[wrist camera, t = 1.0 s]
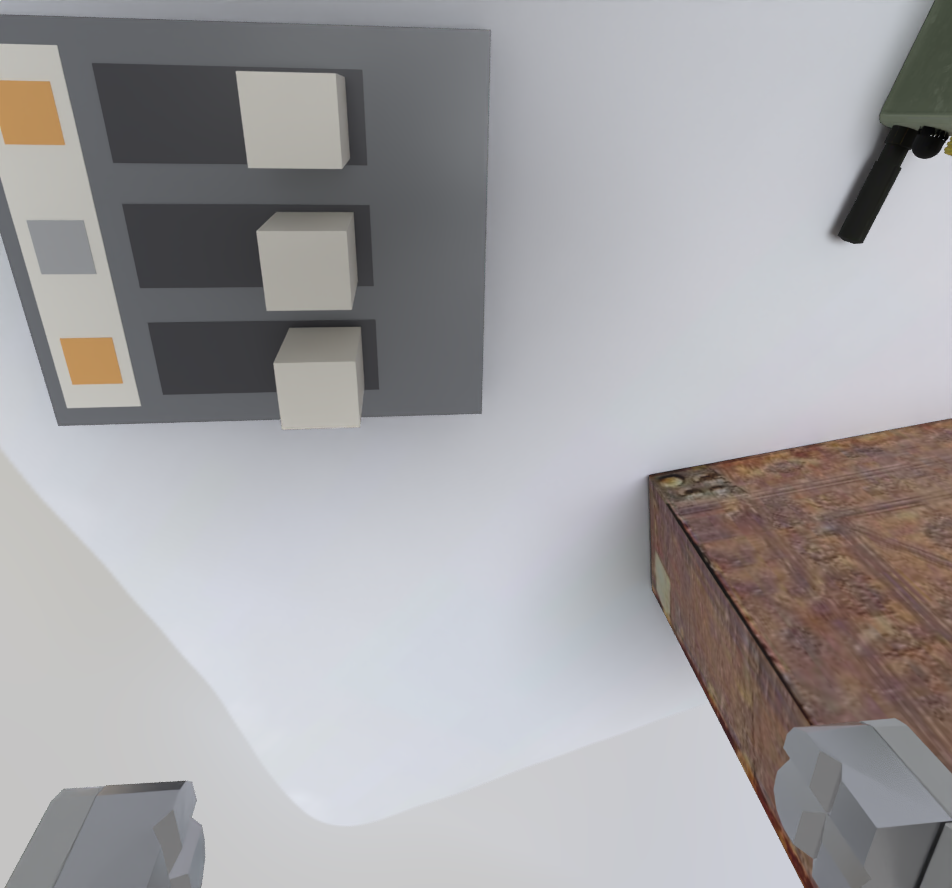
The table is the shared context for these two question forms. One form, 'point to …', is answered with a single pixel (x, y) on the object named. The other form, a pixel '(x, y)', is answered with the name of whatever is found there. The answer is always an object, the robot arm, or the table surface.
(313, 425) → the block
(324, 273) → the tab middle
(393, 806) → the table surface
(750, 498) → the book
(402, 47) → the switch panel
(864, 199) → the handheld radio
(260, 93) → the tab inner
